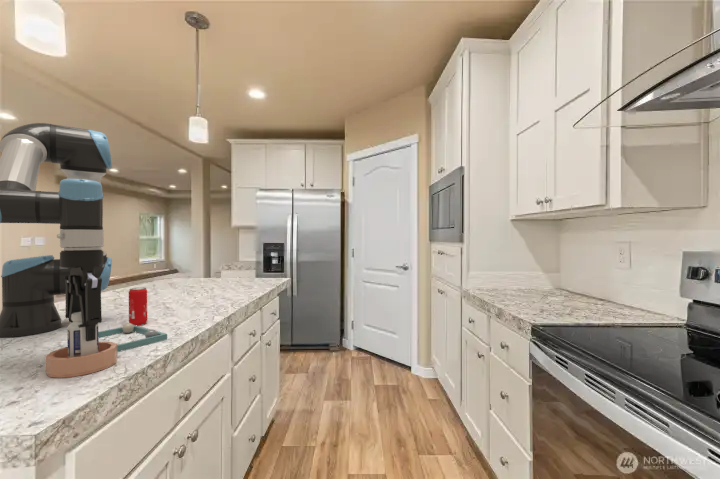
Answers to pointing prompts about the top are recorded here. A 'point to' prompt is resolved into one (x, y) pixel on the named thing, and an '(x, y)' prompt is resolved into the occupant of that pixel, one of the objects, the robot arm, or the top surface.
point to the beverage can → (137, 306)
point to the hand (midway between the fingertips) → (83, 352)
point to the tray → (136, 343)
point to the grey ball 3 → (151, 333)
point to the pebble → (128, 328)
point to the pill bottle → (76, 336)
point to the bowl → (80, 361)
